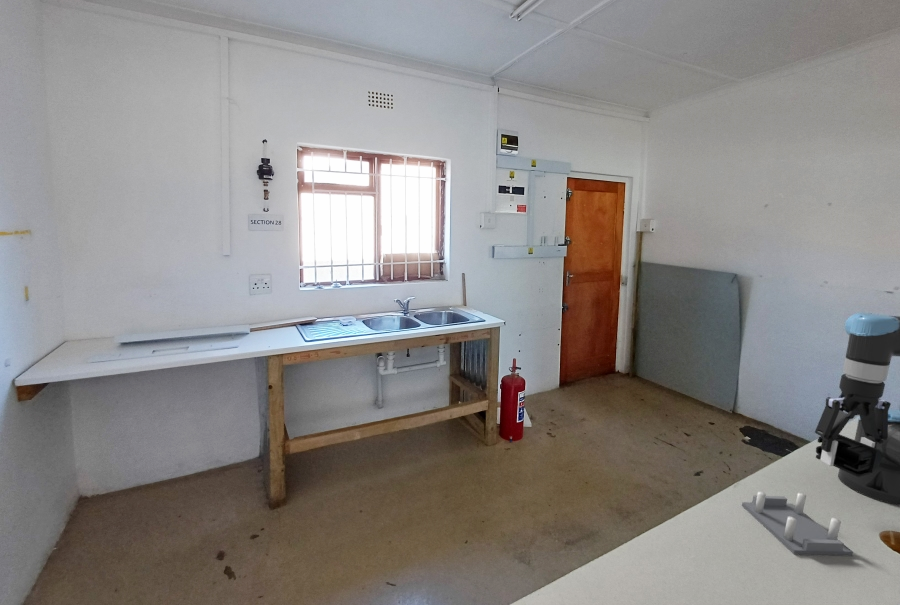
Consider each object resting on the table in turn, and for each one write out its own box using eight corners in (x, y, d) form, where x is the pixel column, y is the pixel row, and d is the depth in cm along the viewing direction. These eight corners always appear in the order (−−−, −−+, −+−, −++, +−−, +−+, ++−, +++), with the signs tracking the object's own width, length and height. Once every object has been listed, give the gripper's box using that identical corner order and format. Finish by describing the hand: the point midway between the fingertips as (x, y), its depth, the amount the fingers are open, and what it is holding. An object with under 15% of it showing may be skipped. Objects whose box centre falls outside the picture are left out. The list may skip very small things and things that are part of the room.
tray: (791, 507, 105) (796, 486, 104) (852, 555, 89) (858, 531, 88) (741, 505, 105) (745, 484, 104) (793, 554, 89) (798, 529, 88)
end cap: (878, 473, 99) (884, 447, 98) (861, 478, 97) (866, 452, 96) (829, 452, 108) (834, 428, 107) (812, 456, 106) (817, 432, 105)
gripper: (890, 373, 102) (871, 456, 106) (806, 371, 102) (790, 454, 106) (924, 384, 95) (903, 473, 99) (834, 382, 95) (816, 471, 99)
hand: (844, 463), depth 102 cm, fingers closed on end cap, 9 cm apart
